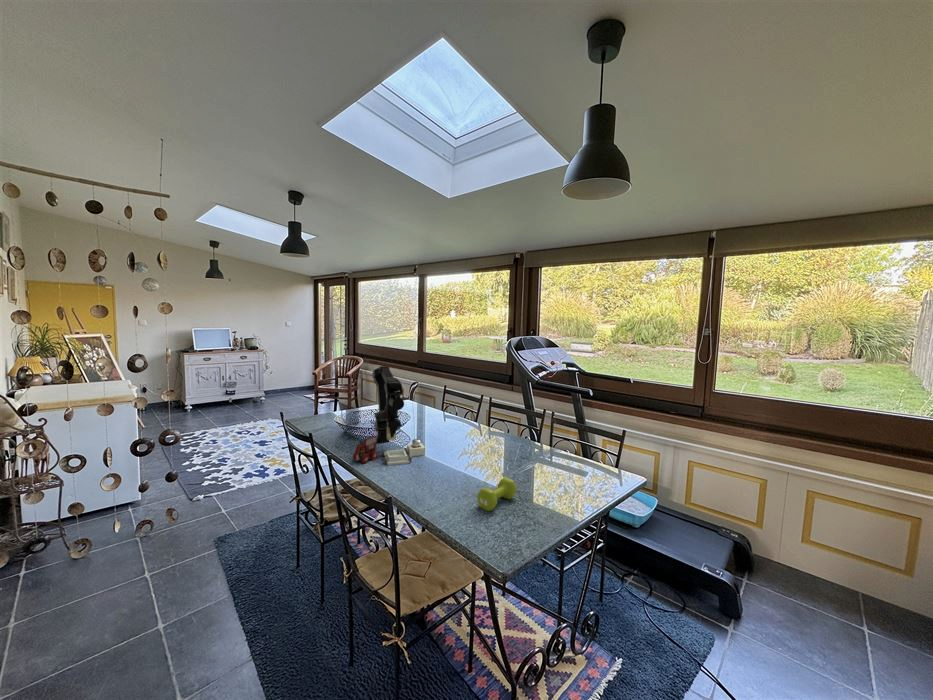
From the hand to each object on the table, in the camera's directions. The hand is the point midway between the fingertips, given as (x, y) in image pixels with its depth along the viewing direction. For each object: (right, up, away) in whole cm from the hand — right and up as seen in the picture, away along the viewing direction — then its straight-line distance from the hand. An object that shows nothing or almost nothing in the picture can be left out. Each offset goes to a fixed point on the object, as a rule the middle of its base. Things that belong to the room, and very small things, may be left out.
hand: (391, 435), depth 177 cm
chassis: (+4, -9, -9) cm, 13 cm away
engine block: (0, -1, 0) cm, 1 cm away
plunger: (+13, -5, -1) cm, 14 cm away
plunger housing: (+12, -8, -1) cm, 15 cm away
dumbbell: (+49, -14, -46) cm, 68 cm away
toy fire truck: (-10, -8, -12) cm, 18 cm away
